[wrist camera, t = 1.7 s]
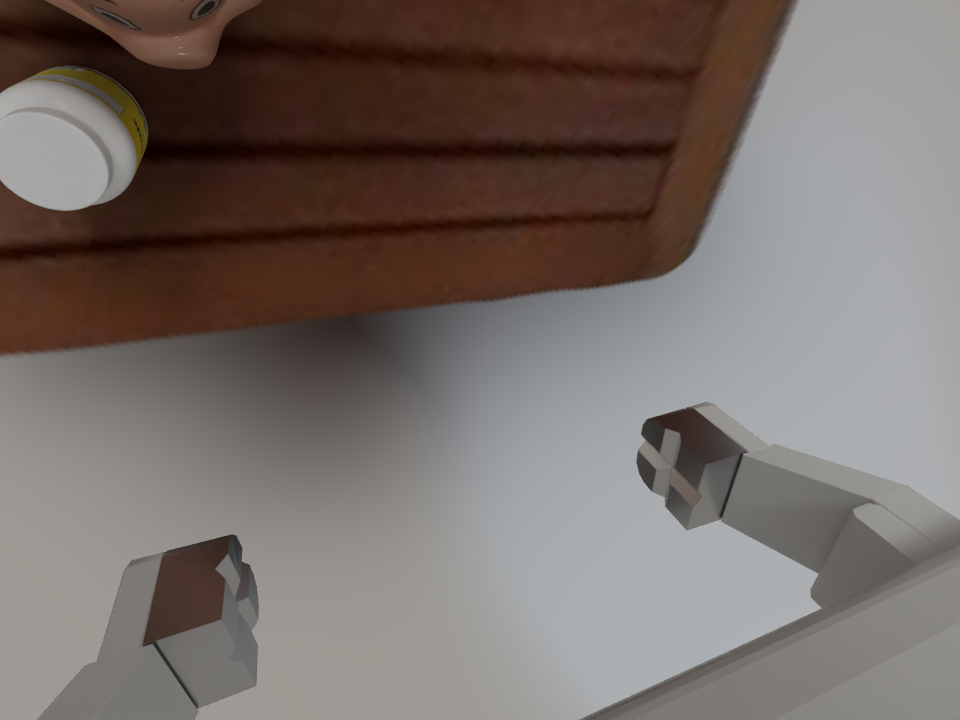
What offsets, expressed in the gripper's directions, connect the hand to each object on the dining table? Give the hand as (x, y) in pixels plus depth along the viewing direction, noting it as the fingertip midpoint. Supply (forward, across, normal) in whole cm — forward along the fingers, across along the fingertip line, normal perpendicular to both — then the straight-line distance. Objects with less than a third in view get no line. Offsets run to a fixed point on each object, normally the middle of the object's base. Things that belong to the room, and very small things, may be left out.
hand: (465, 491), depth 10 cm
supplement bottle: (+30, +12, -5) cm, 33 cm away
